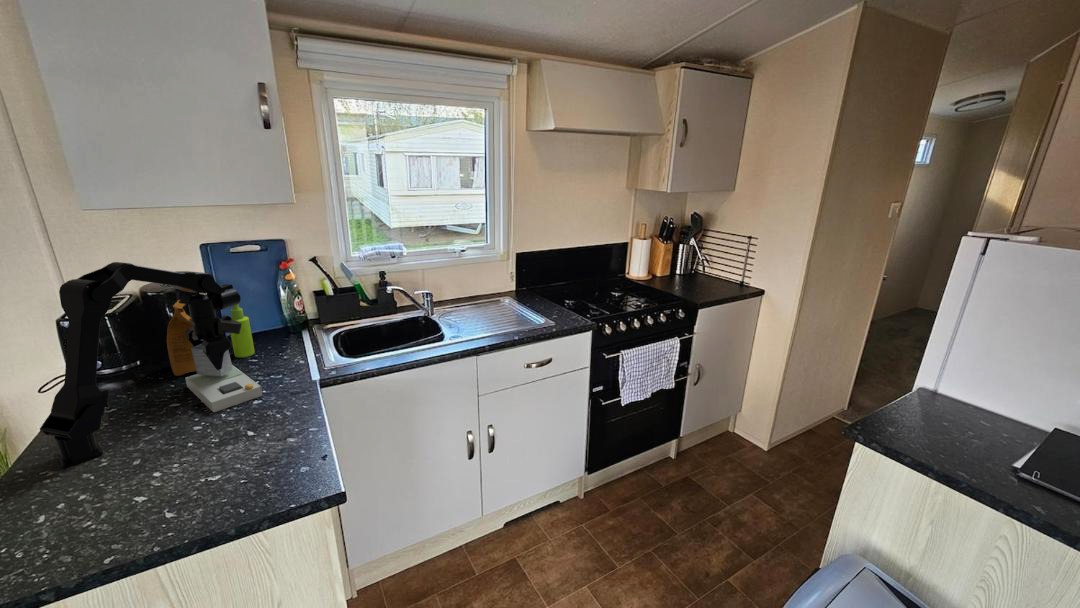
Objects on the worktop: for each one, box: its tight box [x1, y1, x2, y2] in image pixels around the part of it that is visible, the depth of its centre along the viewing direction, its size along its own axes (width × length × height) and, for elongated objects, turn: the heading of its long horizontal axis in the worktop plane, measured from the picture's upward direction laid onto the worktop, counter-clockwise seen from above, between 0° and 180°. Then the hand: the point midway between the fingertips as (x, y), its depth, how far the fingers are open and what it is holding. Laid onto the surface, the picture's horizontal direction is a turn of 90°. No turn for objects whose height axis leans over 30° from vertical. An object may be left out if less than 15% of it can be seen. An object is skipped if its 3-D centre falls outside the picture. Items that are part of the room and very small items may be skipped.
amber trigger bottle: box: [166, 299, 197, 377], centre depth 138 cm, size 10×12×22 cm
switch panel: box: [185, 364, 263, 413], centre depth 127 cm, size 22×12×4 cm, turn 52°
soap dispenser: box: [229, 303, 256, 358], centre depth 149 cm, size 6×7×20 cm
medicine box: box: [191, 344, 233, 376], centre depth 127 cm, size 8×4×9 cm, turn 84°
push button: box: [219, 382, 241, 395], centre depth 123 cm, size 4×4×3 cm
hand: (213, 365), depth 128 cm, fingers closed on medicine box, 9 cm apart
